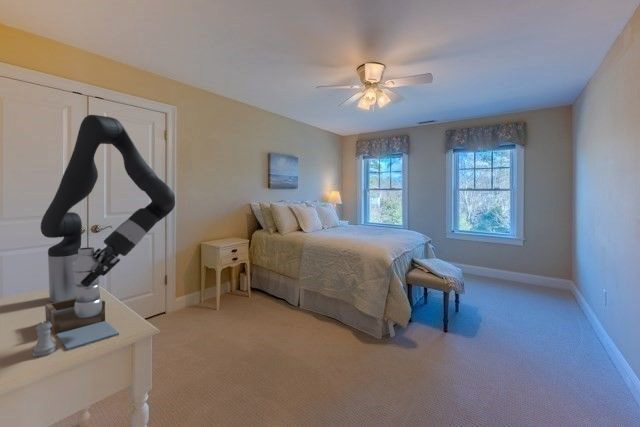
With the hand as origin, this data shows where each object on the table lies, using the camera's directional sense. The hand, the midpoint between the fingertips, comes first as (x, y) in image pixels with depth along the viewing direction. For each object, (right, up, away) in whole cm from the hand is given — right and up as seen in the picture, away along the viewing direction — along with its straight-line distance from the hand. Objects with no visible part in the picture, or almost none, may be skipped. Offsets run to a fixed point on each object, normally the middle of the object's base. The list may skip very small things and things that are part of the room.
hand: (80, 282), depth 86 cm
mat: (0, -16, +2) cm, 16 cm away
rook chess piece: (-4, -17, -7) cm, 19 cm away
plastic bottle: (+1, -10, +2) cm, 11 cm away
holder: (-10, -15, +10) cm, 21 cm away
